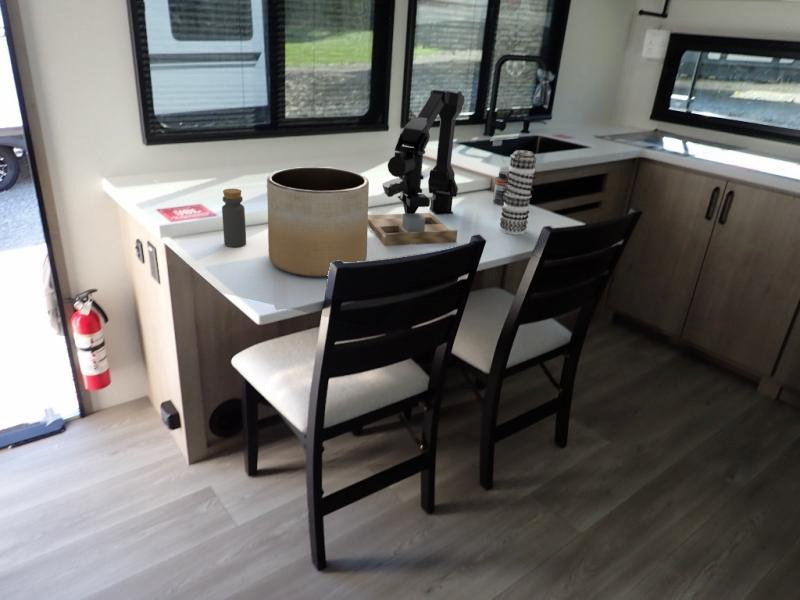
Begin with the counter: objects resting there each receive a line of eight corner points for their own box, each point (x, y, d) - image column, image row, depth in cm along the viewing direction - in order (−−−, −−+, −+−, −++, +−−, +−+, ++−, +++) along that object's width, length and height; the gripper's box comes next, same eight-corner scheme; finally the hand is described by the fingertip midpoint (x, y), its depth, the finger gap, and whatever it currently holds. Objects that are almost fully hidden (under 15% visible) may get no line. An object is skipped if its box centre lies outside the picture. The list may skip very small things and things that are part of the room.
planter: (299, 238, 169) (298, 162, 160) (380, 254, 162) (384, 175, 152) (249, 268, 147) (245, 181, 138) (341, 288, 140) (343, 198, 131)
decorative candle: (531, 235, 185) (544, 155, 174) (503, 235, 183) (515, 154, 173) (521, 226, 193) (533, 149, 182) (494, 225, 192) (505, 148, 181)
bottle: (226, 240, 164) (223, 187, 158) (248, 240, 165) (245, 188, 158) (222, 247, 159) (218, 193, 153) (244, 248, 160) (241, 194, 153)
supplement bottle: (500, 199, 221) (504, 169, 216) (512, 203, 217) (516, 173, 212) (489, 201, 217) (493, 171, 212) (501, 206, 213) (505, 175, 208)
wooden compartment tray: (429, 218, 194) (430, 208, 192) (456, 242, 175) (457, 230, 173) (365, 221, 187) (365, 210, 186) (385, 246, 168) (386, 234, 166)
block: (417, 225, 180) (418, 213, 178) (424, 232, 175) (425, 219, 173) (402, 226, 179) (403, 213, 177) (408, 232, 174) (409, 219, 172)
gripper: (377, 163, 179) (374, 212, 186) (395, 179, 163) (392, 232, 170) (411, 163, 183) (408, 211, 189) (432, 178, 167) (428, 230, 174)
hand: (408, 221), depth 181 cm, fingers closed
